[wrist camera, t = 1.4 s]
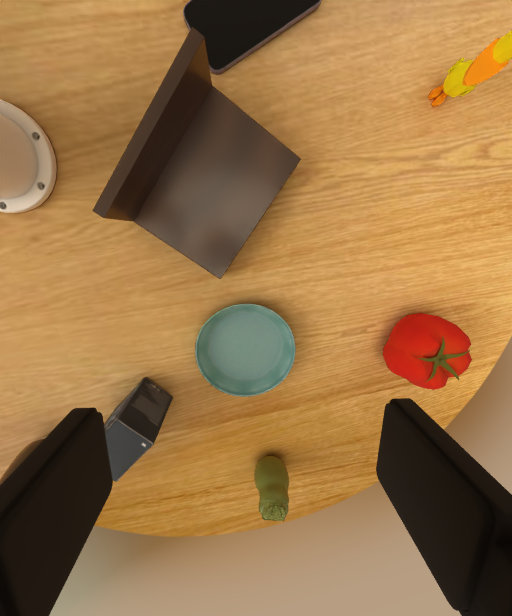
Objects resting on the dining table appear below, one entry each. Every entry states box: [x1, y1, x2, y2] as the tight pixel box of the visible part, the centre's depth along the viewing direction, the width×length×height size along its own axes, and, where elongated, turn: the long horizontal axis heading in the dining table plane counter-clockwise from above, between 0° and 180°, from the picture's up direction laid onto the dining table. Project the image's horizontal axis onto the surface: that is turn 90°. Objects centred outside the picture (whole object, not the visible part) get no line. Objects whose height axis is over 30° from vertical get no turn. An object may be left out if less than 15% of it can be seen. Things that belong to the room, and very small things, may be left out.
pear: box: [255, 456, 289, 521], centre depth 44 cm, size 6×5×10 cm
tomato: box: [383, 313, 472, 390], centre depth 40 cm, size 11×11×9 cm
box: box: [104, 377, 173, 481], centre depth 39 cm, size 8×6×11 cm
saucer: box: [195, 304, 296, 397], centre depth 42 cm, size 15×15×3 cm
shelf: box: [93, 27, 301, 279], centre depth 32 cm, size 14×18×11 cm
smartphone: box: [183, 0, 321, 74], centre depth 32 cm, size 7×1×15 cm
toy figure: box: [428, 31, 512, 107], centre depth 30 cm, size 7×4×12 cm, turn 130°
